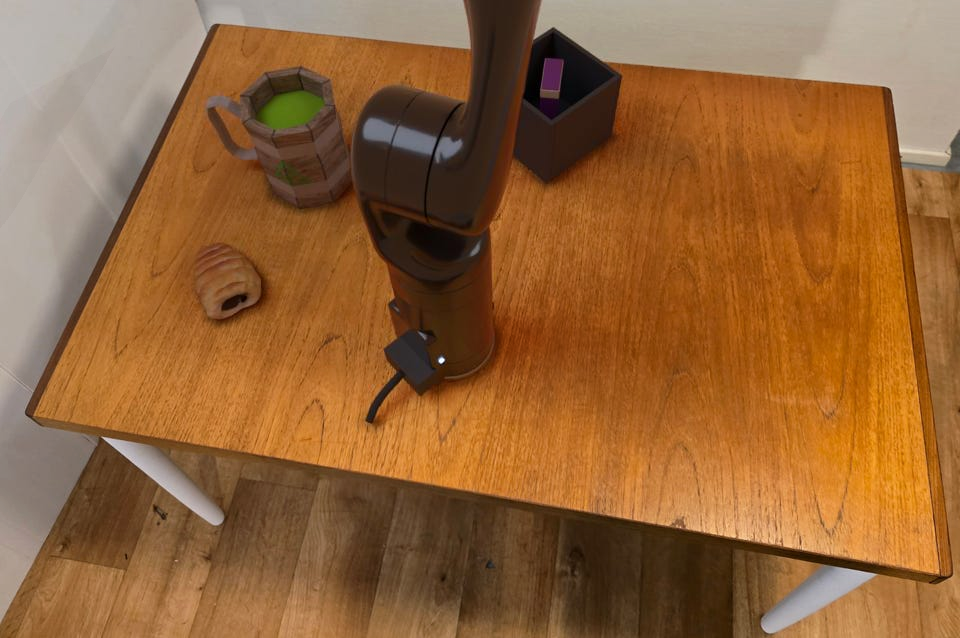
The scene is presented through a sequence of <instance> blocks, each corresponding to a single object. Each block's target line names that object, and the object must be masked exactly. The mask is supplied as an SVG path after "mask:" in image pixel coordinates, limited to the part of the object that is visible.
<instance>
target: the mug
mask: <svg viewBox="0 0 960 638" xmlns="http://www.w3.org/2000/svg"><path fill="white" fill-rule="evenodd" d="M332 87H333V86H332V80H331V78H328V77H326V76H324V75H322V74H320V73H318V72H316V71H313V70H311V69H310V68H307V67H305V66H302V65H299V66H294V67H293V66H292V67H287V68H281V69H276V70H271V71H265V72H263V73H262V74H261V75H260V76H259V77H257V79H255V81H254V82H252V83H251V84H250V85H249V86H248V87H247V88H246V89H245V90H244V91H243V92H242V93H240V94H239V103H238V102H237V101H235V100H234V99H233V98H230V97H228V96H225V95H222V94H217V95H213V96H210V97H209V98H208V99H206V103H205V112H206V114H205V115H206V118H207V119H208V120H209V122H210V124H211V126H212V127H213V129H214V130H215V132H216V135H217V137H218V138H219V140H220V142H221V144H222V146H223V147H224V149H225V150H226V151H228V152H229V154H231V156H232V157H234V158H237V159H239V160H243V161H252V160H253V161H255V160H258V162H259V164H260V166H261V167H262V169H263V170H264V172H265V175H266V176H267V180H268V181H269V185H270V189H271V193H272V195H273V196H275V197H277V198H279V199H281V200H282V201H283V202H286V203H288V204H289V205H292V206H294V207H295V208H297V209H305V208H311V207H316V206H321V205H326V204H332V203H335V202H336V201H337V200H338V199H339V197H340V196H342V194H343V193H344V192H345V191H346V190H347V189H348V187H349V186H350V185H351V184H353V183H352V177H351V166H350V150H349V148H348V145H347V143H346V139H345V135H344V130H343V123H342V118H341V116H340V114H339V111H338V108H337V106H336V103H335V98H334V93H333V91H334V90H333V88H332ZM217 107H218V108H220V109H223V110H225V111H227V112H229V113H230V114H232V115H233V116H235V117H237V118H238V119H240V120H241V123H242V126H243V127H244V129H245V130H246V132H247V133H248V135H249V137H250V139H251V142H252V144H253V146H254V148H246V147H242V146H240V145H238V144H237V142H236V141H235V140H234V139H233V138H232V136H231V133H230V132H229V130H228V127H227V126H226V123H225V121H224V120H223V118H222V117H221V115H220V114H219V112H218V111H217V109H216V108H217Z"/></svg>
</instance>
